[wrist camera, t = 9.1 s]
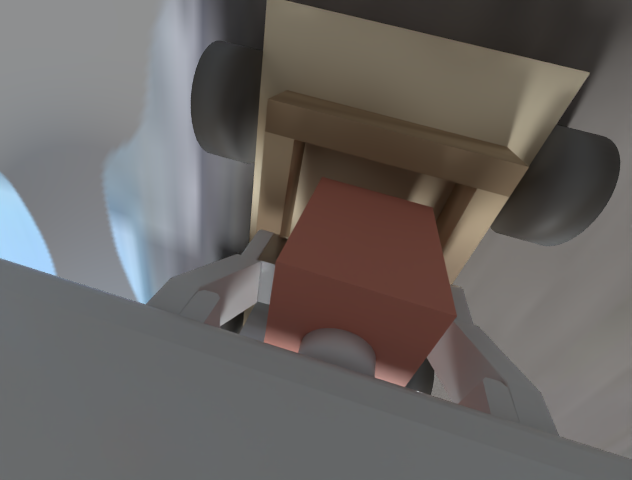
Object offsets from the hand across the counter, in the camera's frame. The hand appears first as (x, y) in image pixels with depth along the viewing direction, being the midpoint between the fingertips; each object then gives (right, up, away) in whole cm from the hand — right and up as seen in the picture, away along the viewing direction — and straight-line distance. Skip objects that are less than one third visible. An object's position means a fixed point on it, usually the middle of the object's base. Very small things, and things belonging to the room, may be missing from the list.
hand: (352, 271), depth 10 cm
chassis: (+1, +1, +6) cm, 6 cm away
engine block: (0, +1, +1) cm, 2 cm away
